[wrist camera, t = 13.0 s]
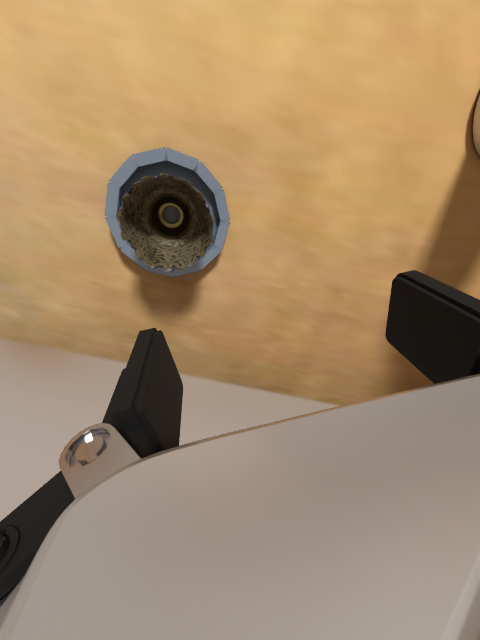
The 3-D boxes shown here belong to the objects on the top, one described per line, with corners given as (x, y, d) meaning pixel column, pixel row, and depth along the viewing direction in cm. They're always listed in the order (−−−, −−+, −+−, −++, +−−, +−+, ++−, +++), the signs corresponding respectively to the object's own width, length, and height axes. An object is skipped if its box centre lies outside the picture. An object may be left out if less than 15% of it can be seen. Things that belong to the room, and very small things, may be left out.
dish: (210, 138, 26) (212, 136, 24) (235, 256, 32) (238, 260, 30) (89, 166, 25) (82, 165, 24) (138, 280, 31) (135, 287, 30)
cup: (118, 193, 26) (96, 199, 19) (186, 161, 26) (188, 155, 19) (158, 260, 30) (151, 285, 23) (217, 233, 30) (228, 250, 23)
